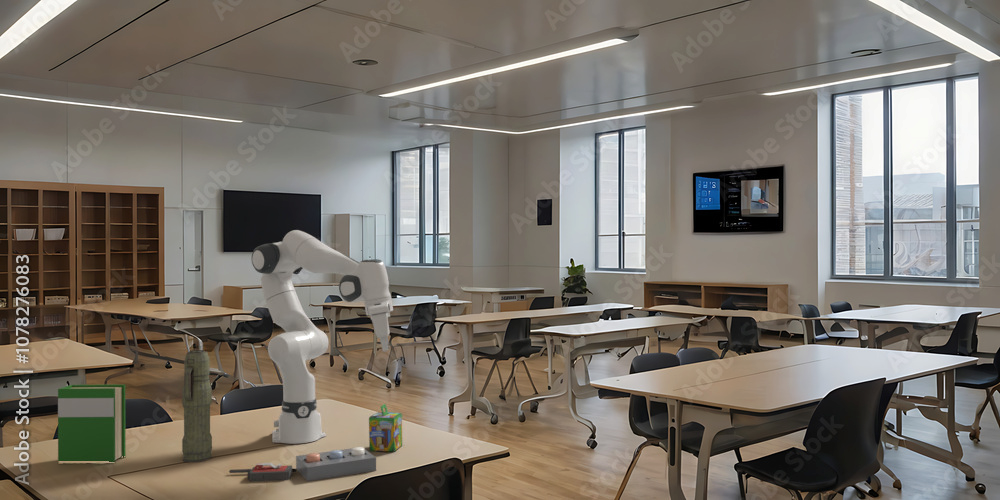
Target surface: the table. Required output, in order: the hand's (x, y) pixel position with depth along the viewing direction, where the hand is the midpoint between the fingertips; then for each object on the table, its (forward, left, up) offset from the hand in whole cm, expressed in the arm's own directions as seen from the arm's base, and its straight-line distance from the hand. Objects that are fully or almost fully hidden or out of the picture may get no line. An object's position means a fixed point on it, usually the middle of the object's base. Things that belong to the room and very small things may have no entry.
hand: (386, 350), depth 234 cm
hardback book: (-46, -83, -36) cm, 102 cm away
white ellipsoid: (+3, -10, -33) cm, 34 cm away
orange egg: (+3, -24, -33) cm, 41 cm away
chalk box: (-13, +5, -36) cm, 38 cm away
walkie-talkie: (-2, -39, -36) cm, 53 cm away
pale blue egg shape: (+3, -17, -33) cm, 37 cm away
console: (+3, -17, -35) cm, 39 cm away
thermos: (-32, -53, -36) cm, 72 cm away
